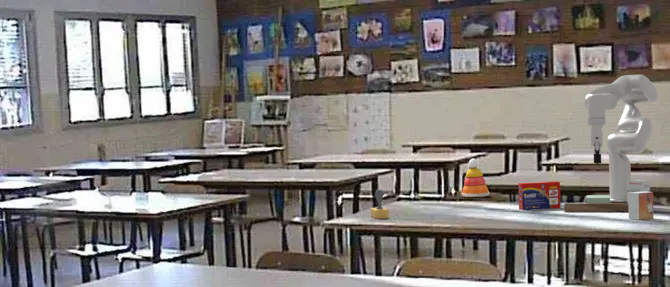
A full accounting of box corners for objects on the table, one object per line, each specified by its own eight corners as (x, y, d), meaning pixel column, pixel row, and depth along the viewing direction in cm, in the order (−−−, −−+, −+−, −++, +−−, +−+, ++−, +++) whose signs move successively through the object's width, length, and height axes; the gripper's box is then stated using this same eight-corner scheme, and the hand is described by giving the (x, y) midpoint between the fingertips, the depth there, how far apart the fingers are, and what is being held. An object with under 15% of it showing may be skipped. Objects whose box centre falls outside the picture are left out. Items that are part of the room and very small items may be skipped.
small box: (638, 220, 378) (638, 193, 378) (628, 219, 383) (627, 192, 383) (654, 218, 382) (653, 191, 381) (643, 217, 387) (642, 190, 386)
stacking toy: (492, 195, 500) (491, 157, 499) (486, 198, 487) (485, 159, 486) (465, 195, 505) (464, 157, 504) (458, 198, 492) (457, 159, 491)
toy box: (556, 207, 435) (555, 181, 434) (560, 208, 431) (559, 181, 430) (518, 209, 430) (518, 183, 430) (522, 210, 427) (522, 183, 426)
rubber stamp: (388, 218, 411) (388, 189, 411) (375, 218, 410) (374, 190, 410) (383, 215, 421) (383, 188, 421) (370, 216, 420) (369, 188, 420)
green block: (586, 207, 431) (586, 195, 431) (610, 207, 429) (610, 195, 428) (586, 210, 420) (586, 197, 420) (610, 210, 417) (610, 197, 417)
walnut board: (564, 211, 416) (564, 203, 416) (633, 211, 409) (633, 202, 409) (564, 211, 414) (564, 203, 414) (633, 211, 407) (633, 203, 407)
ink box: (650, 207, 423) (650, 180, 423) (644, 208, 420) (643, 180, 419) (633, 206, 430) (633, 179, 429) (627, 207, 426) (626, 180, 426)
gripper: (588, 121, 443) (588, 161, 443) (587, 122, 426) (588, 164, 427) (605, 121, 441) (606, 161, 441) (605, 122, 424) (606, 164, 425)
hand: (597, 162), depth 434 cm, fingers open, 4 cm apart
